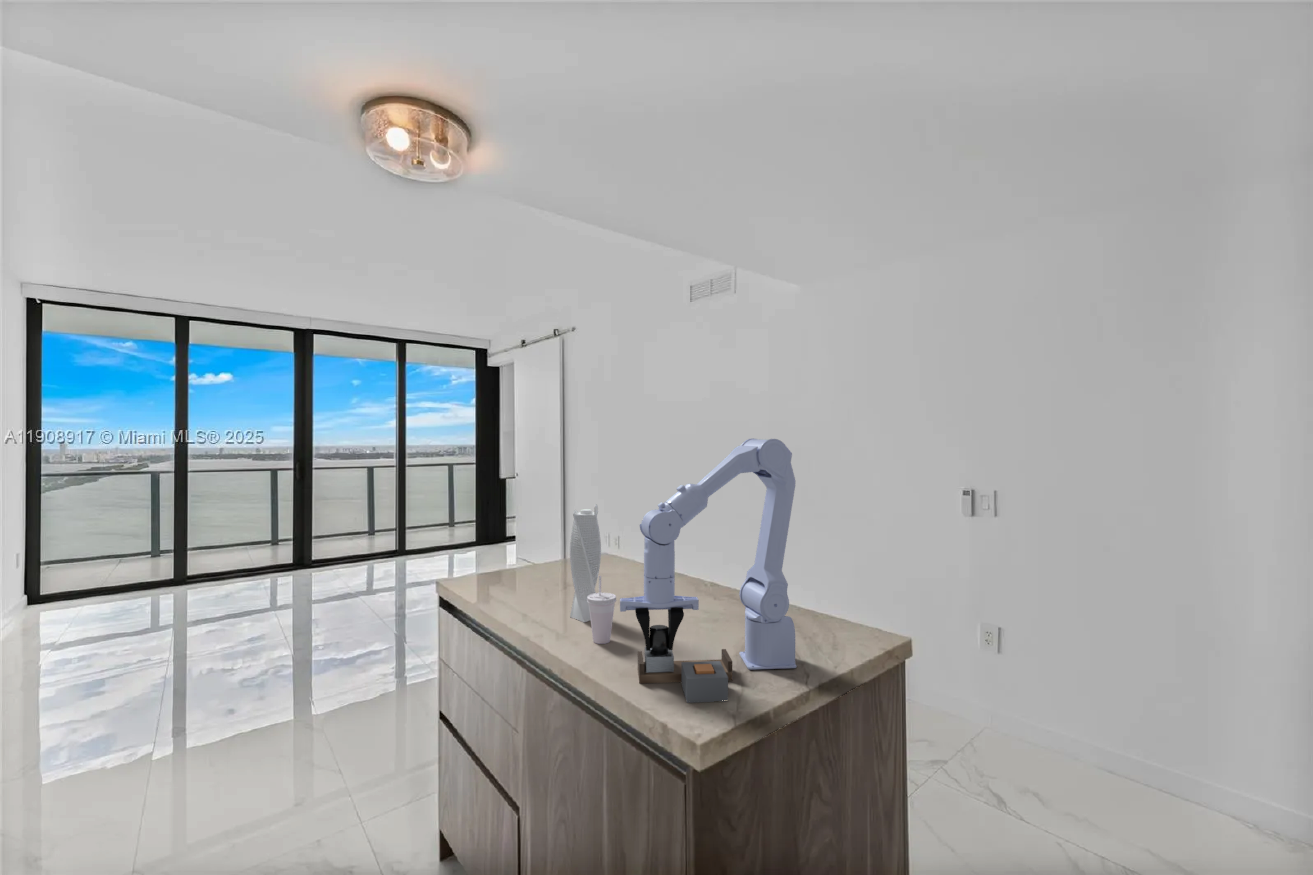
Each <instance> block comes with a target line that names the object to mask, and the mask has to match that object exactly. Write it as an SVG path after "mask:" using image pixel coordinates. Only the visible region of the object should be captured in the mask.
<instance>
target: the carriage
mask: <svg viewBox="0 0 1313 875" xmlns="http://www.w3.org/2000/svg"><path fill="white" fill-rule="evenodd" d="M649 637H650V651H646V646H645V647H644V662H645V667H646V673H652V672H674V661H675V656H674V652H673V650H669V649H668V626H667V625H663V624H654V625H650V626H649Z"/></svg>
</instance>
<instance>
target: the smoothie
mask: <svg viewBox="0 0 1313 875" xmlns="http://www.w3.org/2000/svg"><path fill="white" fill-rule="evenodd" d="M587 602H588V603H589V611H590V619H591V620H590V626H591V634H592V642H593V643H594V644H598V645H599V644H600V645H604V644H608V643H610V642H611V635H612V628H613V620H614V613H615V605H616V604H615V603H616V602H617V595H616V594H614V593H613V592H612V593H611V592H602V575H598V592H596V593H594V594H590V595H588V596H587Z"/></svg>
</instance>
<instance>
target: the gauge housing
mask: <svg viewBox="0 0 1313 875" xmlns="http://www.w3.org/2000/svg"><path fill="white" fill-rule="evenodd" d="M694 664H711V665H712V667H713V669H714V674H695V672H694ZM680 683H681V688H682V691H683V694H684V698H685V701H686V703H687V704H688V703H712V702H713V703H715V702H714V701H721V702H725V701H724V700H728V701H729V681H728V676H727V674H726V672H725V670H724V668H723V666H722V664H721V662H720V661H707V662H682V663H681V682H680ZM722 700H723V701H722Z"/></svg>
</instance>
